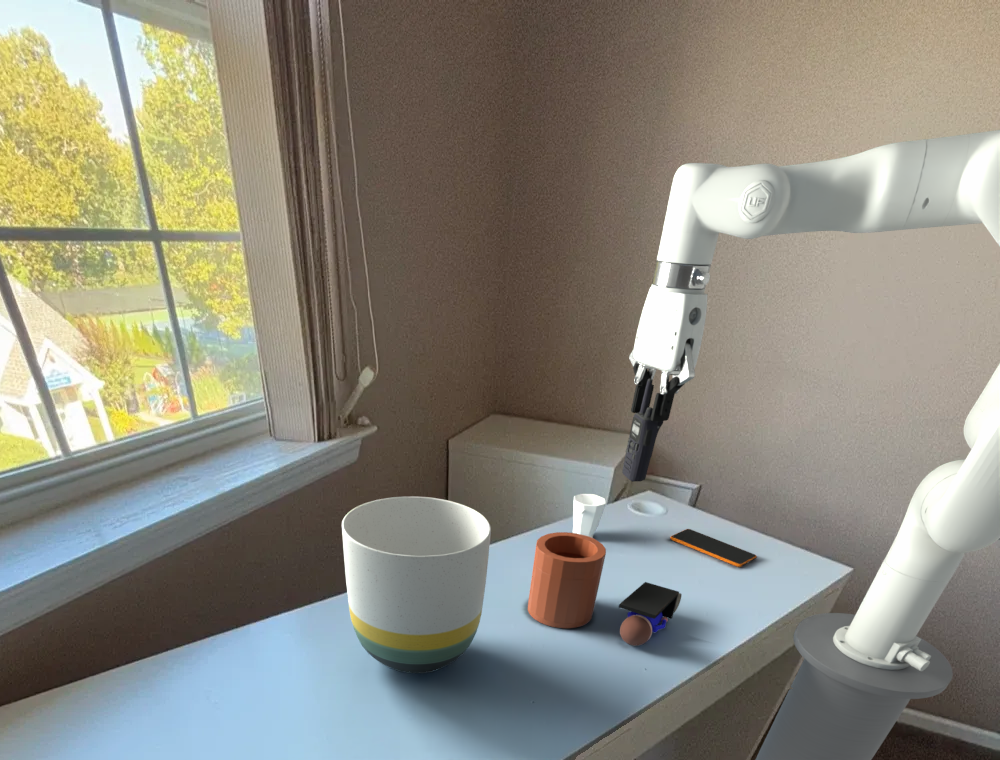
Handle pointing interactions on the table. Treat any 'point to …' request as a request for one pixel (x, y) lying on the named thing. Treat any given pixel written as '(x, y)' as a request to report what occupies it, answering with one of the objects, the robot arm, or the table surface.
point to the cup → (587, 513)
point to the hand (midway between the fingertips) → (649, 415)
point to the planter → (415, 579)
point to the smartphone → (713, 547)
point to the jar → (565, 579)
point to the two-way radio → (641, 440)
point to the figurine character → (647, 612)
